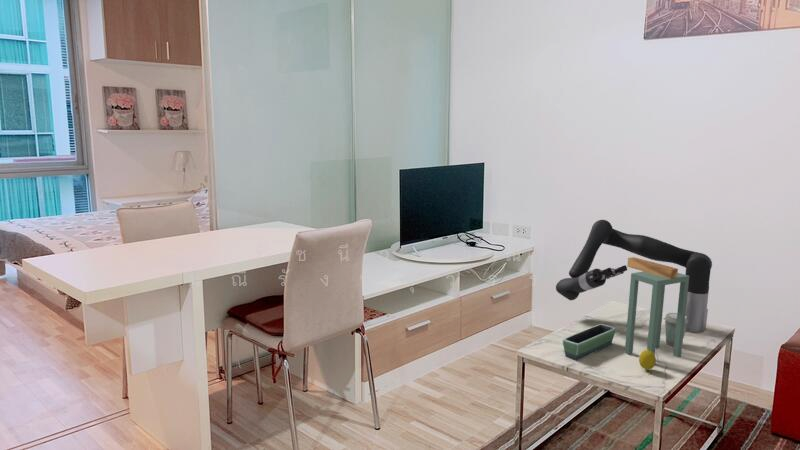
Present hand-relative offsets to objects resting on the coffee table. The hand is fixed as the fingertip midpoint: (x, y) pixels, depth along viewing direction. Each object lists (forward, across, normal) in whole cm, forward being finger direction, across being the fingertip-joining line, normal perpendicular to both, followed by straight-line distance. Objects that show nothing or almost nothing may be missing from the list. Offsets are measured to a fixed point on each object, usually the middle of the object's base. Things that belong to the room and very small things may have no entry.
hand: (618, 268), depth 238 cm
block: (+15, 0, +6) cm, 16 cm away
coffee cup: (-1, +17, +34) cm, 38 cm away
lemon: (+10, -14, +40) cm, 44 cm away
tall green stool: (+2, 0, +36) cm, 36 cm away
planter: (-10, -19, +29) cm, 36 cm away
